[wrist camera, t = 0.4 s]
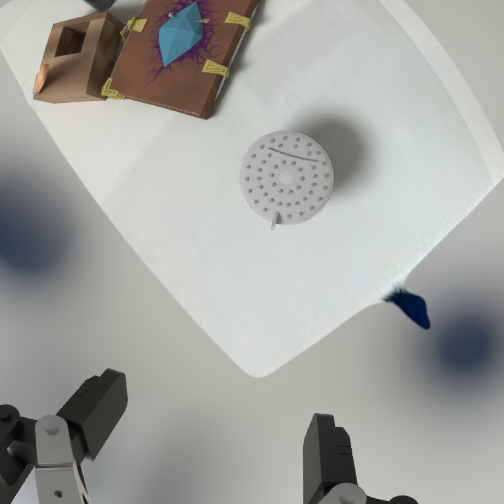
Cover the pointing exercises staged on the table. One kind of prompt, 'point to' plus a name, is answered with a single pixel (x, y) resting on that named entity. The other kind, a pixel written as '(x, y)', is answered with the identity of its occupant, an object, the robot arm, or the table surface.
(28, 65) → the table surface
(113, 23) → the block
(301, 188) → the showerhead
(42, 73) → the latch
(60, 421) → the robot arm
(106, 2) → the pin
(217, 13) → the book
